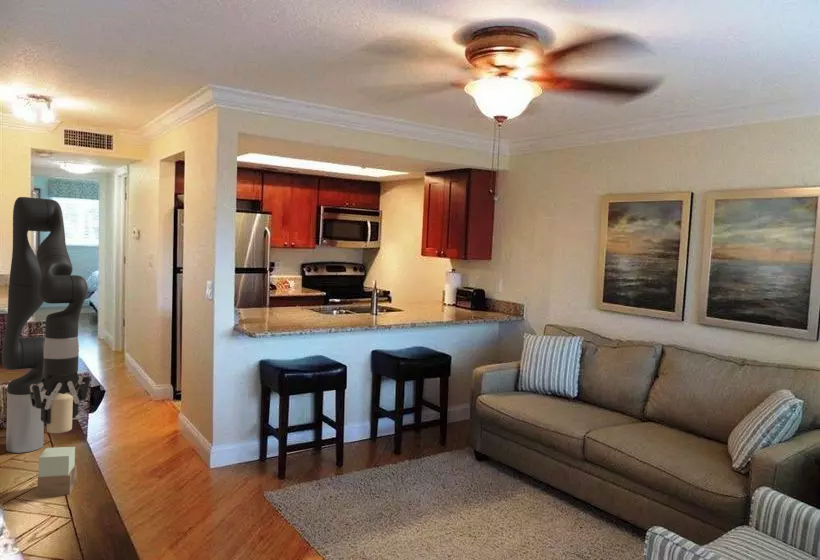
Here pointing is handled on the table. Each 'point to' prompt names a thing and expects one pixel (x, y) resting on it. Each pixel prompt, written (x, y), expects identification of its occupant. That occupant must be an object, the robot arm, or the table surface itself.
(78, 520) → the table surface
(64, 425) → the candle
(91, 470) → the table surface
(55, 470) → the top block
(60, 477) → the base block
